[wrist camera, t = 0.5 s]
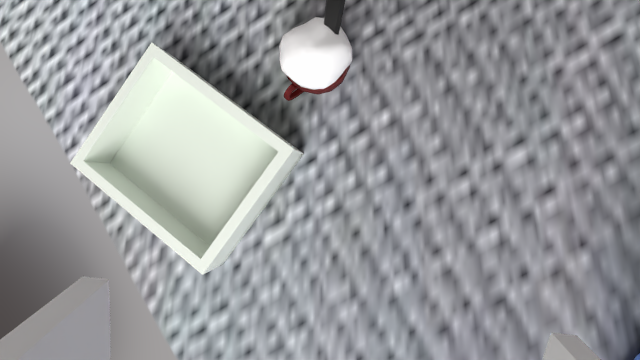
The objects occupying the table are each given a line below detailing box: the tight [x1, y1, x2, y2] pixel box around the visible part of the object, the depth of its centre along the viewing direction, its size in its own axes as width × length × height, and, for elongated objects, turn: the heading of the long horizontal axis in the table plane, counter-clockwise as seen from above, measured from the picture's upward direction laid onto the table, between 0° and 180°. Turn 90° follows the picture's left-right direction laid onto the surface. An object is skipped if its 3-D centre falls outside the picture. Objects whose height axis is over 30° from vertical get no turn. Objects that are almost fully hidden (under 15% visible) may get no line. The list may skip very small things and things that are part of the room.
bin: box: [71, 43, 304, 275], centre depth 35 cm, size 14×17×4 cm
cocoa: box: [279, 0, 352, 101], centre depth 30 cm, size 10×6×12 cm, turn 117°
